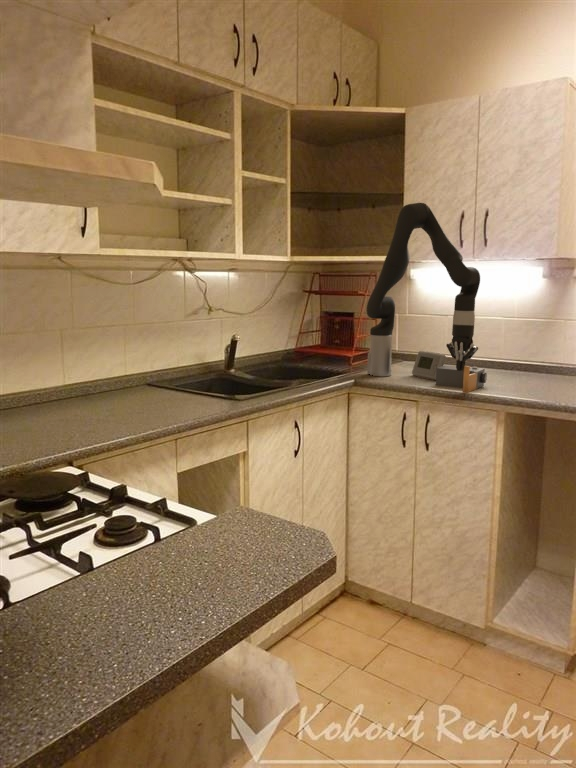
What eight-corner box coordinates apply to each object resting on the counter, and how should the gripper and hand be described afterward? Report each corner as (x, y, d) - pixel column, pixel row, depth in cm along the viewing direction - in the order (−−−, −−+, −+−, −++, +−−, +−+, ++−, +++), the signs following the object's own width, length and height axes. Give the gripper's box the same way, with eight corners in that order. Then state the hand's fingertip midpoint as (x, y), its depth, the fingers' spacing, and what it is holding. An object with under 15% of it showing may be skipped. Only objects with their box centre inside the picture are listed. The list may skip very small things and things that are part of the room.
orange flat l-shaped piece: (467, 392, 218) (468, 366, 217) (461, 392, 220) (463, 366, 218) (478, 389, 226) (479, 363, 224) (473, 388, 227) (474, 363, 226)
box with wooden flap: (435, 384, 235) (436, 366, 234) (443, 381, 243) (444, 363, 241) (481, 389, 226) (482, 370, 225) (487, 385, 233) (488, 367, 232)
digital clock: (410, 375, 258) (410, 350, 256) (429, 374, 261) (430, 349, 259) (428, 381, 243) (429, 355, 241) (448, 380, 245) (449, 354, 243)
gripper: (442, 322, 221) (439, 369, 224) (472, 325, 210) (468, 374, 213) (455, 321, 225) (452, 367, 228) (485, 324, 215) (481, 372, 218)
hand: (460, 370), depth 221 cm, fingers closed
